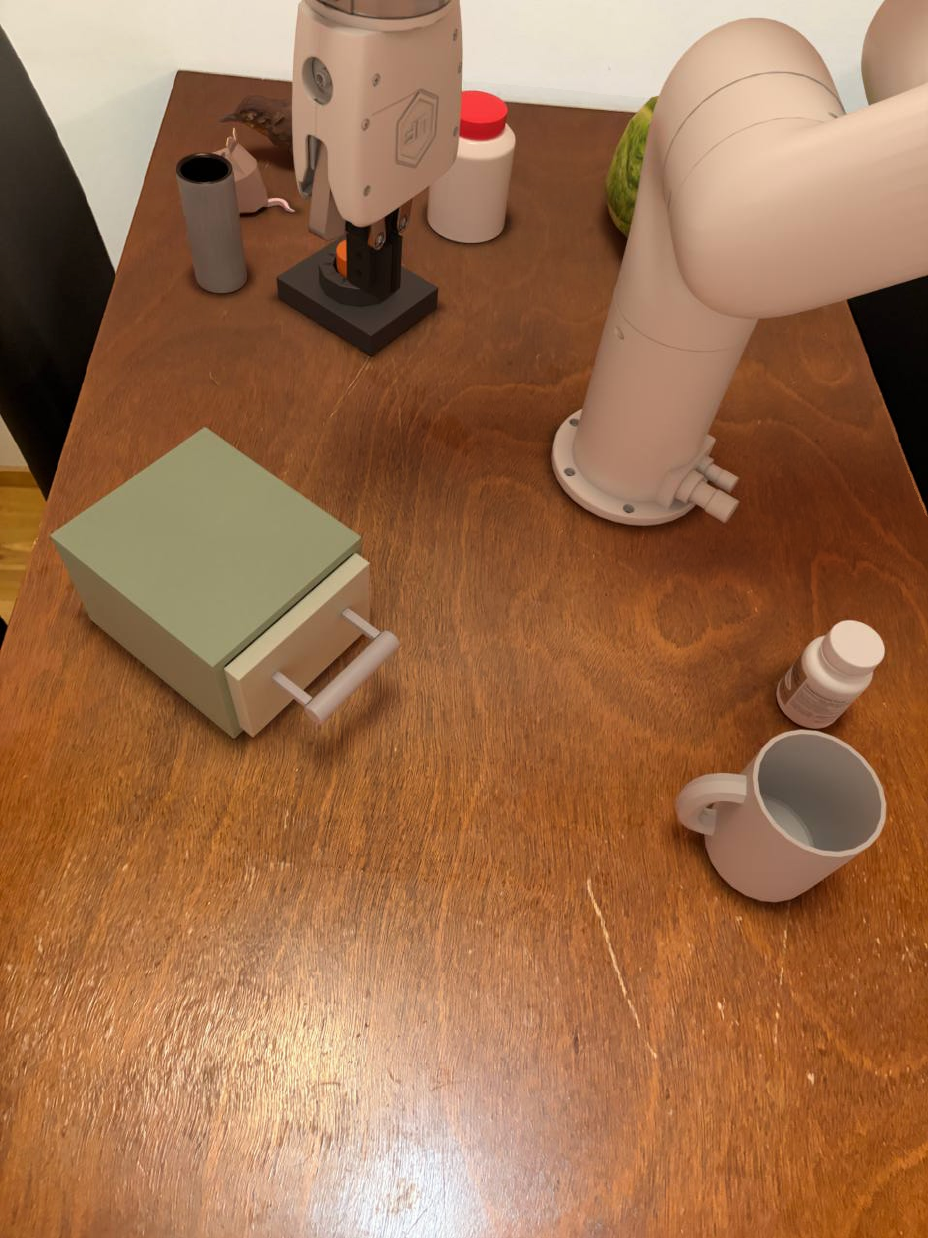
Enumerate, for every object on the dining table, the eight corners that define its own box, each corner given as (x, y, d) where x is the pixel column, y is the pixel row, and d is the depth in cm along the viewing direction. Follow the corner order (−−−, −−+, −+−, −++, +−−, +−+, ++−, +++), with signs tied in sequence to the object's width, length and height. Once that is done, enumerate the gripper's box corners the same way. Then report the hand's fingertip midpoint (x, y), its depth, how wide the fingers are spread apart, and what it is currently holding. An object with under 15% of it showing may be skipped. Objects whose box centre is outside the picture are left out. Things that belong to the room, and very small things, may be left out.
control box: (437, 307, 80) (440, 269, 77) (371, 356, 76) (371, 317, 73) (346, 254, 83) (345, 214, 80) (278, 298, 79) (274, 258, 76)
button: (387, 268, 77) (387, 250, 76) (359, 286, 75) (359, 268, 74) (356, 250, 78) (355, 232, 77) (328, 268, 76) (327, 249, 75)
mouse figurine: (287, 227, 85) (281, 158, 79) (206, 212, 85) (194, 142, 80) (302, 197, 88) (297, 128, 82) (223, 182, 88) (213, 113, 82)
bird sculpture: (459, 211, 93) (471, 165, 89) (212, 157, 87) (213, 106, 83) (457, 177, 97) (468, 131, 93) (220, 123, 91) (221, 72, 87)
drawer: (417, 662, 59) (423, 600, 53) (302, 779, 54) (294, 725, 48) (238, 529, 64) (224, 458, 58) (117, 625, 59) (87, 559, 52)
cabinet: (363, 618, 62) (361, 536, 54) (234, 739, 56) (212, 667, 48) (224, 515, 65) (204, 426, 58) (90, 619, 60) (49, 534, 52)
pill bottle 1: (518, 216, 89) (536, 104, 80) (478, 253, 85) (491, 139, 76) (454, 187, 91) (463, 74, 82) (411, 222, 87) (416, 107, 78)
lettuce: (583, 193, 99) (718, 225, 101) (601, 265, 80) (769, 302, 81) (624, 38, 90) (772, 75, 91) (657, 76, 70) (845, 122, 72)
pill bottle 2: (789, 662, 63) (837, 601, 56) (847, 696, 62) (903, 637, 55) (764, 706, 61) (811, 647, 54) (823, 742, 59) (878, 686, 53)
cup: (818, 916, 53) (891, 870, 45) (653, 881, 53) (699, 829, 46) (814, 803, 57) (881, 744, 49) (660, 771, 57) (703, 707, 50)
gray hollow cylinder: (186, 284, 79) (163, 172, 71) (212, 256, 82) (194, 145, 73) (231, 299, 79) (214, 189, 70) (256, 271, 81) (243, 161, 72)
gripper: (340, 41, 38) (345, 371, 54) (525, -56, 46) (484, 258, 61) (210, -19, 40) (251, 316, 56) (408, -103, 48) (396, 213, 63)
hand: (373, 285), depth 58 cm, fingers closed
